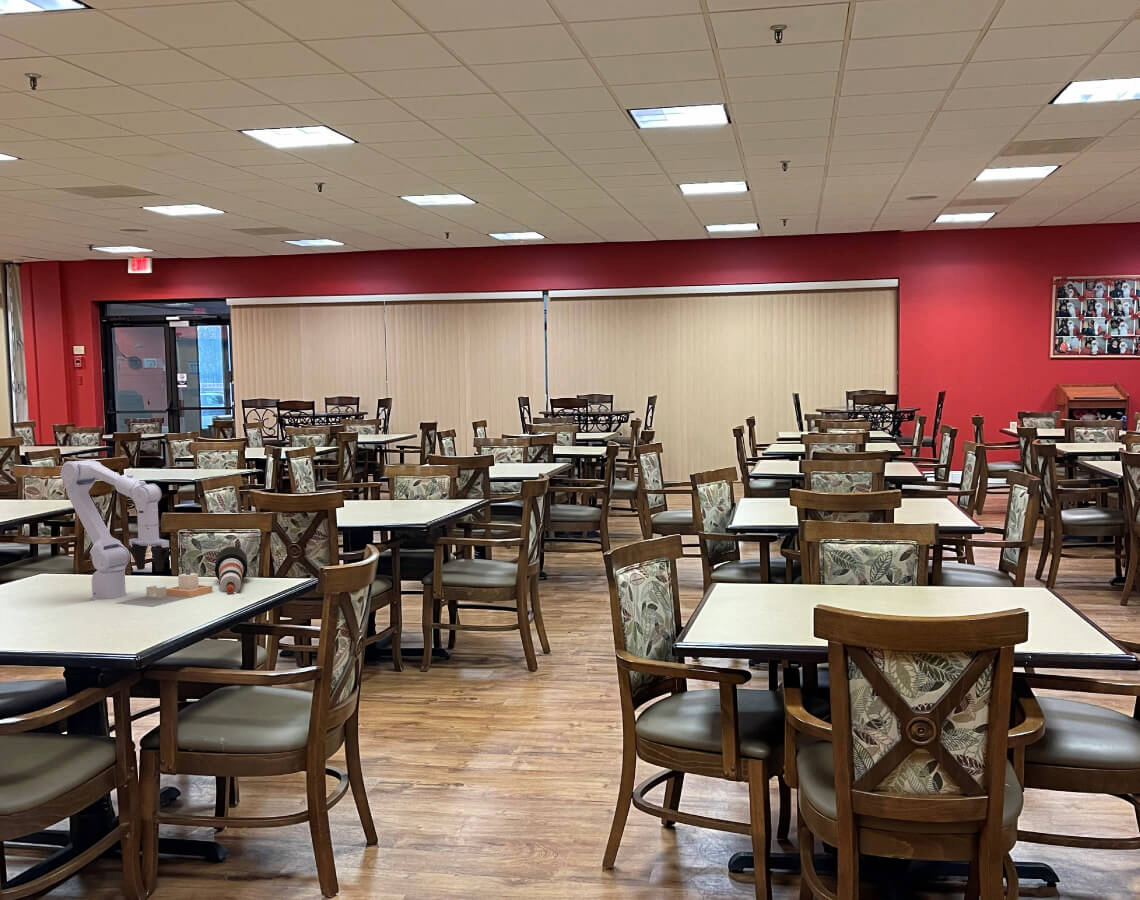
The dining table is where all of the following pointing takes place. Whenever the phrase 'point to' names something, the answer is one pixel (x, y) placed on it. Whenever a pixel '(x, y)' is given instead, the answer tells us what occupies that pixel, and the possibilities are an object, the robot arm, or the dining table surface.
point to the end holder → (189, 591)
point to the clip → (156, 592)
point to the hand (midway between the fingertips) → (150, 570)
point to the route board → (152, 601)
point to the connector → (188, 580)
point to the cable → (231, 568)
